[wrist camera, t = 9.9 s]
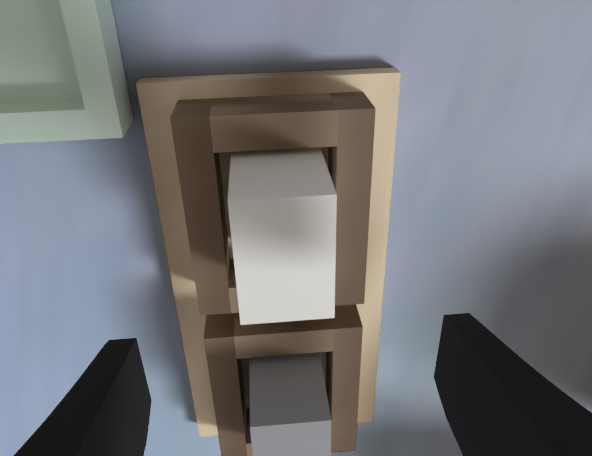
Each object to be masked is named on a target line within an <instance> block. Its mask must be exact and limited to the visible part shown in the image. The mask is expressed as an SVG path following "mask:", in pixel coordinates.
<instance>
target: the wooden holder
mask: <svg viewBox="0 0 592 456" xmlns="http://www.w3.org/2000/svg"><path fill="white" fill-rule="evenodd" d="M400 78H401V72H400V71H399V70H398V69H396V68H395V67H390V68H366V69H343V70H319V71H296V72H272V73H249V74H225V75H201V76H178V77H154V78H140V79H139V80H138V82H137V83H136V88H137V93H138V99H139V104H140V110H141V115H142V121H143V126H144V132H145V137H146V143H147V148H148V154H149V159H150V165H151V170H152V176H153V181H154V187H155V193H156V198H157V204H158V209H159V215H160V220H161V226H162V231H163V237H164V242H165V248H166V253H167V259H168V264H169V270H170V275H171V281H172V286H173V292H174V297H175V303H176V308H177V314H178V320H179V325H180V331H181V336H182V342H183V347H184V353H185V358H186V364H187V369H188V375H189V380H190V386H191V391H192V397H193V402H194V408H195V413H196V419H197V424H198V430H199V435H200V437H206V436H219V443H220V450H221V456H253V453H252V443H251V433H250V371H249V358H253V357H265V356H278V355H291V354H304V353H317V352H320V358H321V364H322V369H323V375H324V381H325V386H326V392H327V398H328V403H329V409H330V415H331V453H334V452H345V451H356V435H357V423H367V422H373V410H374V398H375V386H376V373H377V361H378V349H379V336H380V324H381V312H382V300H383V287H384V275H385V263H386V250H387V238H388V226H389V214H390V201H391V189H392V177H393V164H394V152H395V140H396V128H397V115H398V103H399V91H400ZM316 147H320V148H321V151H322V154H323V156H324V159H325V162H326V165H327V168H328V171H329V174H330V176H331V179H332V182H333V185H334V188H335V191H336V193H337V213H336V268H335V318H328V319H315V320H301V321H288V322H275V323H262V324H248V325H240V316H239V306H238V297H237V287H236V277H235V268H234V258H233V249H232V239H231V230H230V220H229V210H228V188H229V174H230V160H231V152H239V151H258V150H277V149H297V148H316Z"/></svg>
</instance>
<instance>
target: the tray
mask: <svg viewBox="0 0 592 456" xmlns="http://www.w3.org/2000/svg"><path fill="white" fill-rule="evenodd" d="M133 121H134V120H133V115H132V110H131V105H130V99H129V94H128V89H127V84H126V78H125V73H124V68H123V63H122V57H121V52H120V47H119V42H118V36H117V31H116V26H115V21H114V15H113V10H112V5H111V0H0V144H10V143H30V142H50V141H70V140H90V139H110V138H123V137H124V135H125V134H126V132H127V131H128V129H129V127H130V126H131V124H132V122H133Z"/></svg>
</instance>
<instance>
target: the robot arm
mask: <svg viewBox="0 0 592 456" xmlns="http://www.w3.org/2000/svg"><path fill="white" fill-rule="evenodd" d="M434 379H435V382H436V386H437V389H438V392H439V396H440V399H441V402H442V405H443V409H444V412H445V415H446V418H447V420H448V422H449V425H450V427H451V429H452V431H453V434H454V436H455V438H456V441H457V443H458V445H459V447H460V450H461V452H462V454H463V456H592V413H591V412H590V411H588V410H587V409H585V408H584V407H583V406H581V405H580V404H579V403H577V402H576V401H575V400H573V399H572V398H571V397H569V396H568V395H567V394H565V393H564V392H563V391H561V390H560V389H559V388H557V387H556V386H555V385H553V384H552V383H551V382H550V381H548V380H547V379H546V378H545V377H543V376H542V375H541V374H540V373H538V372H537V371H536V370H535V369H534V368H532V367H531V366H530V365H529V364H527V363H526V362H525V361H524V360H523V359H522V358H520V357H519V356H518V355H517V354H516V353H514V352H513V351H512V350H511V349H510V348H509V347H507V346H506V345H505V344H504V343H503V342H502V341H501V340H499V339H498V338H497V337H496V336H495V335H494V334H493V333H491V332H490V331H489V330H488V329H487V328H486V327H485V326H483V325H482V324H481V323H480V322H479V321H478V320H477V319H475V318H474V317H473V316H472V315H471V314H469V313H465V314H452V315H444V318H443V324H442V330H441V337H440V343H439V349H438V355H437V361H436V367H435V374H434ZM150 407H151V397H150V393H149V389H148V385H147V381H146V376H145V372H144V368H143V364H142V360H141V356H140V352H139V347H138V343H137V339H136V338H131V339H117V340H109V341H108V342H107V343H106V344H105V345H104V347H103V348H102V349H101V350H100V352H99V353H98V354H97V356H96V357H95V358H94V360H93V361H92V362H91V364H90V365H89V366H88V368H87V369H86V370H85V372H84V373H83V374H82V375H81V377H80V378H79V379H78V381H77V382H76V383H75V384H74V386H73V387H72V388H71V390H70V391H69V392H68V393H67V394H66V396H65V397H64V398H63V399H62V401H61V402H60V403H59V404H58V405H57V407H56V408H55V409H54V410H53V412H52V413H51V414H50V415H49V416H48V418H47V419H46V420H45V421H44V422H43V424H42V425H41V426H40V427H39V428H38V429H37V430H36V431H35V433H34V434H33V435H32V436H31V437H30V438H29V439H28V440H27V441H26V443H25V444H24V445H23V446H22V447H21V448H20V449H19V450H18V452H17V453H16V454H15V455H14V456H143V455H144V450H145V446H146V440H147V433H148V425H149V416H150Z"/></svg>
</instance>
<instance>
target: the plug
mask: <svg viewBox="0 0 592 456" xmlns="http://www.w3.org/2000/svg"><path fill="white" fill-rule="evenodd" d="M228 210H229V220H230V230H231V239H232V249H233V258H234V268H235V277H236V287H237V297H238V306H239V316H240V325H248V324H262V323H275V322H288V321H301V320H315V319H328V318H335V268H336V213H337V193H336V191H335V188H334V185H333V182H332V179H331V176H330V174H329V171H328V168H327V165H326V162H325V159H324V156H323V154H322V151H321V148H320V147H316V148H297V149H277V150H258V151H239V152H231V160H230V174H229V188H228Z"/></svg>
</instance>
